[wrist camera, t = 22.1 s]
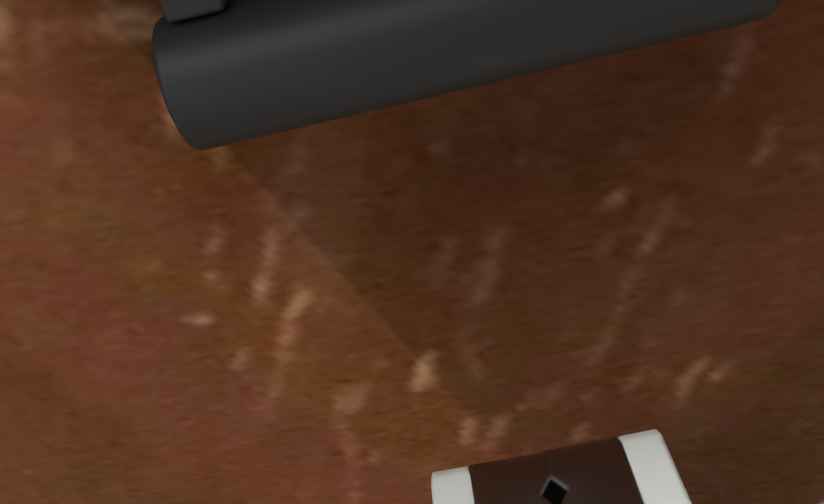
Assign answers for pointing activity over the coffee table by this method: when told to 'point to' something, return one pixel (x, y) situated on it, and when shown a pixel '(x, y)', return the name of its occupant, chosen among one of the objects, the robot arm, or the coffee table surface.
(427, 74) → the drawer
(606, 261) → the coffee table surface
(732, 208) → the coffee table surface
